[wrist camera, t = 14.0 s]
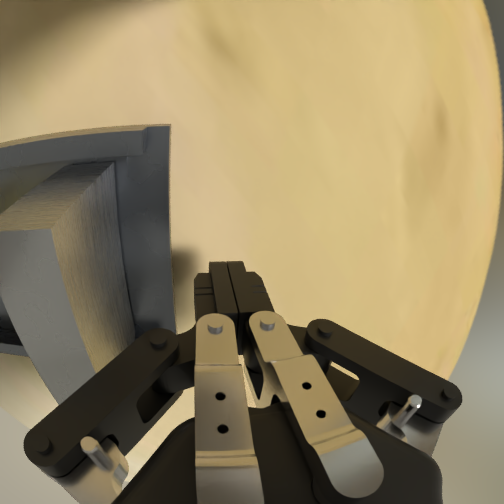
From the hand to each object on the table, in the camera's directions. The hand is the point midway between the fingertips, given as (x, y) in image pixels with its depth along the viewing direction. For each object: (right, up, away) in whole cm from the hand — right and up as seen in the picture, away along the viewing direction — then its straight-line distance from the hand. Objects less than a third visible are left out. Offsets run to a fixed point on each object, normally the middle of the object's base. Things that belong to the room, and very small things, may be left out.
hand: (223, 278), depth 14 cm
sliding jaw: (-7, +1, 0) cm, 7 cm away
